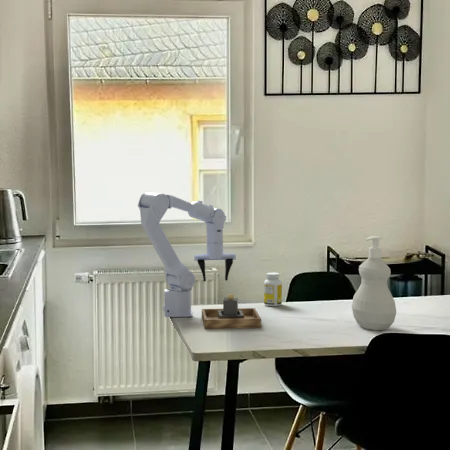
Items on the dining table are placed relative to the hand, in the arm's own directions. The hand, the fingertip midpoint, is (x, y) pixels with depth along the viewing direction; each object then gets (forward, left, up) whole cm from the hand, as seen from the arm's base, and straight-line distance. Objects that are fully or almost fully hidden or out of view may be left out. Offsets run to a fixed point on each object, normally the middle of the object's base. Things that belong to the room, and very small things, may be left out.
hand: (215, 280), depth 278 cm
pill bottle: (+21, +6, -11) cm, 25 cm away
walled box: (+3, -21, -10) cm, 23 cm away
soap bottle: (+48, -31, -11) cm, 58 cm away
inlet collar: (+3, -21, -10) cm, 23 cm away
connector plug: (+3, -21, -10) cm, 23 cm away
